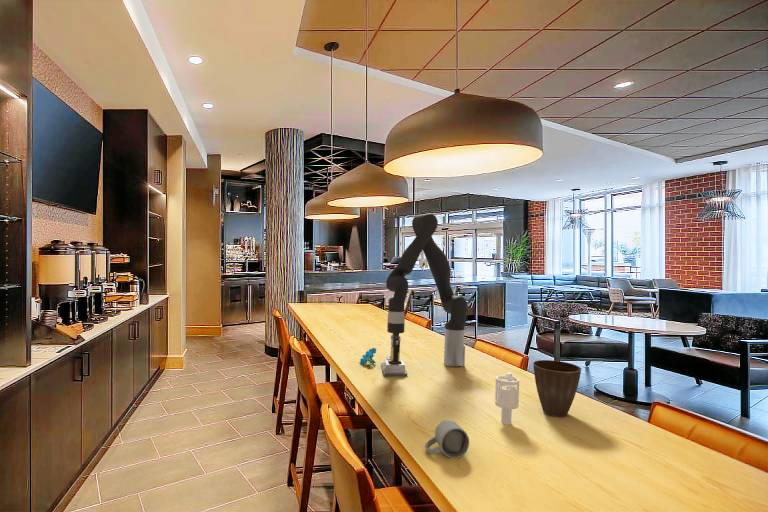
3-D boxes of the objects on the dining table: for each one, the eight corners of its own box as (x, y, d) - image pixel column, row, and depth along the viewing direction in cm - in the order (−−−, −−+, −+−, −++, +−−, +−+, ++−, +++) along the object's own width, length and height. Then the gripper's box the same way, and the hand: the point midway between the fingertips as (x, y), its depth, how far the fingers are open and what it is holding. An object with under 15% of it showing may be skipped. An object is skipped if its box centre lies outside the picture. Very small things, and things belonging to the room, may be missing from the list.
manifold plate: (402, 365, 195) (402, 355, 195) (407, 376, 177) (407, 365, 177) (381, 365, 194) (381, 355, 194) (384, 376, 176) (384, 365, 176)
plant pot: (575, 408, 144) (576, 362, 144) (584, 424, 130) (585, 373, 130) (530, 402, 148) (531, 358, 148) (533, 418, 134) (535, 369, 134)
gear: (358, 357, 201) (373, 343, 201) (366, 365, 202) (381, 351, 202) (359, 366, 190) (375, 352, 190) (368, 375, 191) (384, 360, 191)
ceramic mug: (458, 443, 114) (459, 415, 114) (469, 457, 106) (469, 428, 106) (421, 446, 113) (421, 417, 113) (429, 460, 104) (429, 430, 104)
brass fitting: (398, 363, 184) (399, 345, 184) (399, 366, 180) (400, 347, 180) (389, 363, 183) (390, 345, 183) (390, 366, 179) (391, 347, 179)
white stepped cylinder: (520, 421, 131) (521, 374, 131) (515, 429, 125) (516, 379, 125) (498, 416, 135) (499, 370, 135) (491, 423, 129) (493, 375, 129)
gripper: (406, 324, 175) (405, 364, 175) (402, 319, 189) (401, 356, 189) (388, 324, 174) (387, 364, 174) (386, 318, 188) (385, 356, 188)
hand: (395, 360), depth 181 cm, fingers closed on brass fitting, 4 cm apart
